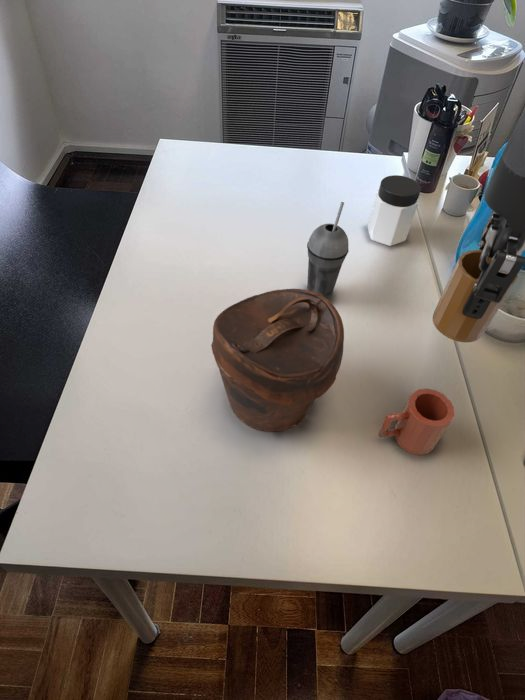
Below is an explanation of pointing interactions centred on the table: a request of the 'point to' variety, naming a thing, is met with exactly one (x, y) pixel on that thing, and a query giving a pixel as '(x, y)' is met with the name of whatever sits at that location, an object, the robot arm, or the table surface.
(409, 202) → the jar
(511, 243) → the robot arm
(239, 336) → the case
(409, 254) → the table surface
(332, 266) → the beverage cup
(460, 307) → the wooden cup
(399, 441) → the mug
